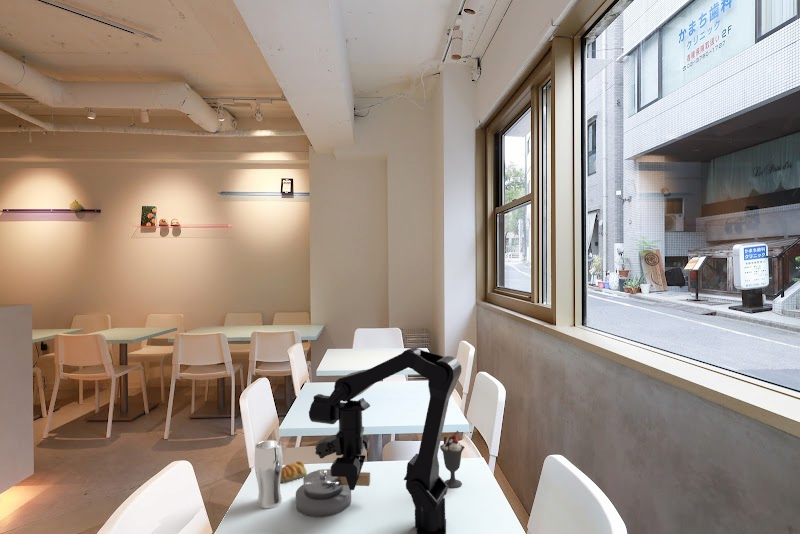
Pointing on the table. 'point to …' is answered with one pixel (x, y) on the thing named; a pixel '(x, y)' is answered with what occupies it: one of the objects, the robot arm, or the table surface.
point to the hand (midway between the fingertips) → (352, 489)
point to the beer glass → (268, 472)
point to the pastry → (293, 472)
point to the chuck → (329, 483)
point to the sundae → (452, 458)
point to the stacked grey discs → (322, 503)
